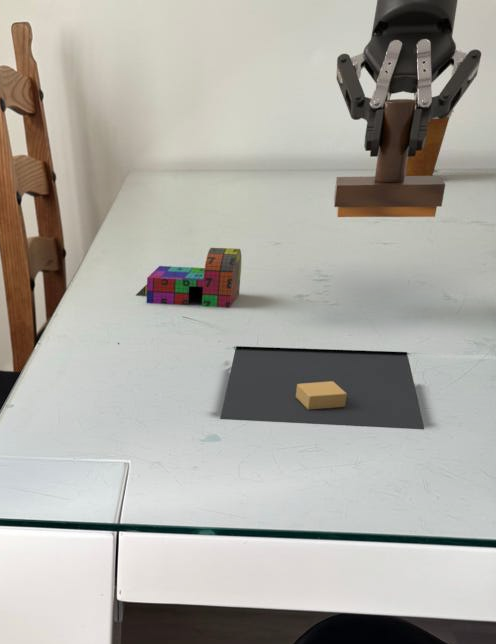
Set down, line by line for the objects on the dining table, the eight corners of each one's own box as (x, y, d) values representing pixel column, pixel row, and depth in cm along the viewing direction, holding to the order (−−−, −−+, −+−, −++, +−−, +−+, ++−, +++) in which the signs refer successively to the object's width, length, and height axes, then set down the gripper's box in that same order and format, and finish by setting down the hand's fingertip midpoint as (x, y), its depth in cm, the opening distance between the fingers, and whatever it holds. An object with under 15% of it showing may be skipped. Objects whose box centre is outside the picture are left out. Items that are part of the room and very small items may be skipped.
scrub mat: (404, 358, 97) (406, 347, 96) (422, 440, 80) (424, 428, 79) (235, 352, 100) (236, 342, 100) (218, 430, 83) (219, 418, 83)
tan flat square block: (331, 394, 86) (333, 380, 86) (345, 407, 84) (347, 393, 83) (295, 397, 86) (296, 383, 86) (308, 410, 84) (309, 396, 83)
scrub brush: (435, 207, 101) (454, 96, 96) (439, 217, 97) (459, 101, 92) (332, 208, 104) (345, 99, 98) (333, 217, 100) (346, 105, 94)
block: (242, 300, 116) (247, 238, 112) (228, 319, 110) (233, 254, 106) (141, 294, 120) (143, 234, 116) (123, 313, 113) (124, 250, 110)
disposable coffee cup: (414, 185, 171) (427, 106, 165) (372, 178, 178) (383, 102, 172) (453, 179, 175) (467, 101, 168) (411, 172, 182) (423, 98, 176)
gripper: (345, -32, 97) (318, 124, 94) (501, -41, 93) (478, 122, 90) (342, 29, 104) (317, 176, 101) (487, 23, 100) (466, 177, 97)
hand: (393, 150), depth 96 cm, fingers closed on scrub brush, 3 cm apart
